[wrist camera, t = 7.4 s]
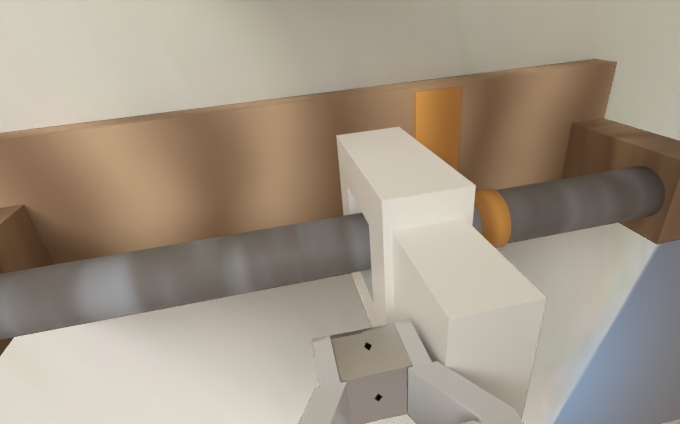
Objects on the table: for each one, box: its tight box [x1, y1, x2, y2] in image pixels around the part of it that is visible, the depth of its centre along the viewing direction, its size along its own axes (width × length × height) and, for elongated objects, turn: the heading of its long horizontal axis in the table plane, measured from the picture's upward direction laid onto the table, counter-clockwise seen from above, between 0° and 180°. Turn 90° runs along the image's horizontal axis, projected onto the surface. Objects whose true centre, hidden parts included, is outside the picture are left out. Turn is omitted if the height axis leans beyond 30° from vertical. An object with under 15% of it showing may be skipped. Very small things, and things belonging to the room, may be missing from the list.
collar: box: [336, 127, 547, 419], centre depth 15 cm, size 3×7×11 cm, turn 5°
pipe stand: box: [0, 59, 680, 356], centre depth 19 cm, size 32×10×8 cm, turn 95°
